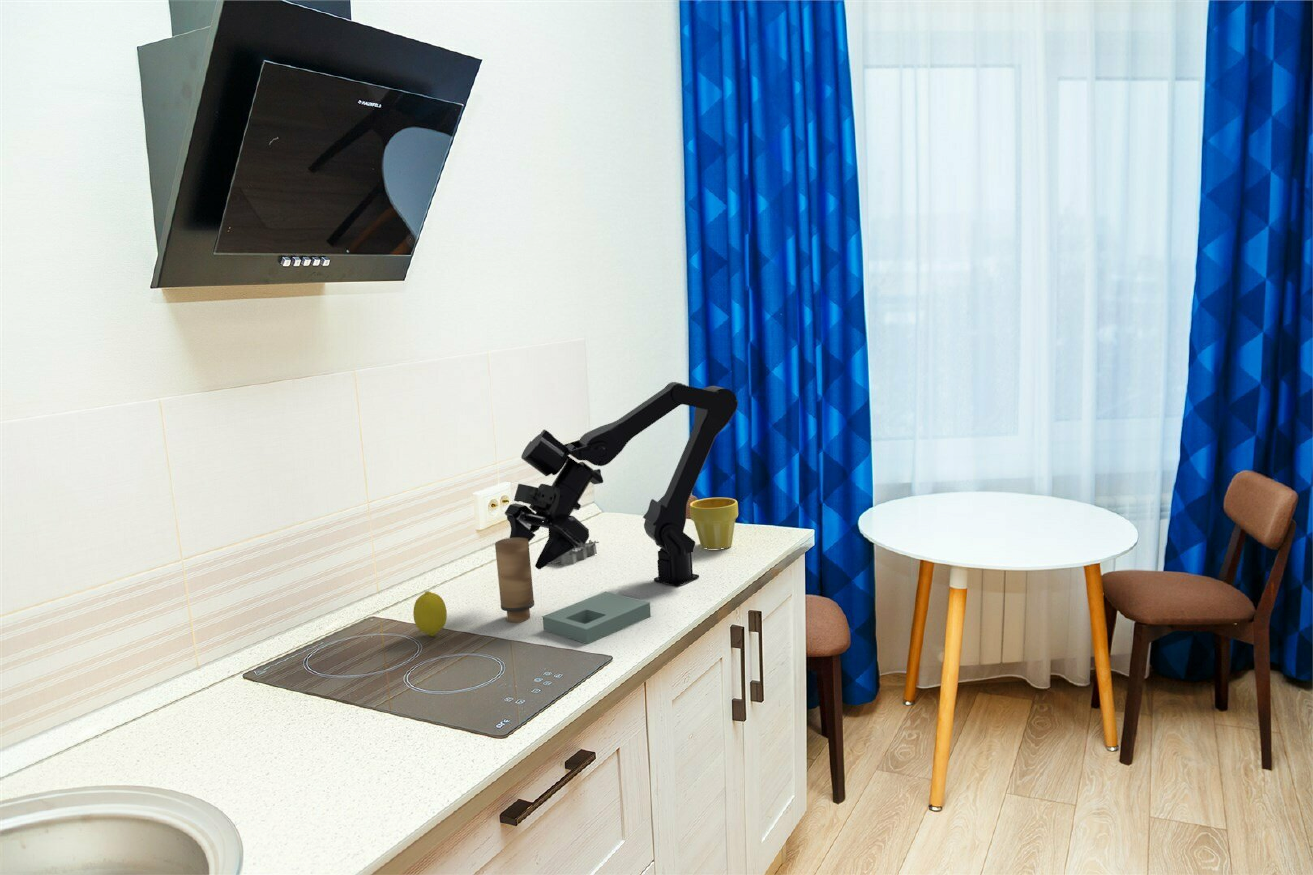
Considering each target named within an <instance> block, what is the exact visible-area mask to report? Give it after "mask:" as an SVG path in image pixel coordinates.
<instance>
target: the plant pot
mask: <svg viewBox="0 0 1313 875" xmlns="http://www.w3.org/2000/svg"><path fill="white" fill-rule="evenodd" d="M689 516H690V520H691V521H692V522H693V524H694V526H695V530H696V533H697V537H698V540H699V543H700V547H701V549H703V548H707V549H721V548H727V549H729V548H728V547H730V546H731V545H733V538H734V537H733V536H734V532H735V524H736V519H737V518H738V516H739V504H738V501H737V500H736V499H734V498H730V497H709V498H707V497H706V498H702V499H697V500H693V501H692V502H690V503H689ZM731 547H732V546H731ZM731 547H730V548H731Z"/></svg>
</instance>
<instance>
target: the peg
mask: <svg viewBox="0 0 1313 875" xmlns="http://www.w3.org/2000/svg"><path fill="white" fill-rule="evenodd" d="M529 544H530V543H529V542H528V539H526V538H520V537H515V538H510V537H506V538H502V539H500V540H497V541H495V543H494V546H495V558H496V559H495V560H496V567H497V578H498V580H497V581H498V587H499V597H500V599H499V600H500V610H502V611H504V612H506V617H507V621H508V622H510V623H521V622H526V621H528V620H529V619H531V611H530V609H531V608H533V607H534V606H535V600H534V599H535V598H534V589H533V578H532V577H533V575H532V564H531V554H530V553H531V552H530V545H529Z"/></svg>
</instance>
